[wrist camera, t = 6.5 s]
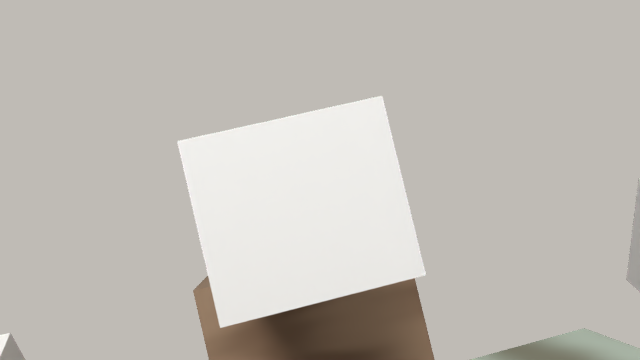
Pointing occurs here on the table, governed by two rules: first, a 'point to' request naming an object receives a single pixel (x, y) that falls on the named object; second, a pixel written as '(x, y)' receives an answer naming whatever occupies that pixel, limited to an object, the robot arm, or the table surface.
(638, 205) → the robot arm
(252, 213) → the white block
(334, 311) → the wooden boards
